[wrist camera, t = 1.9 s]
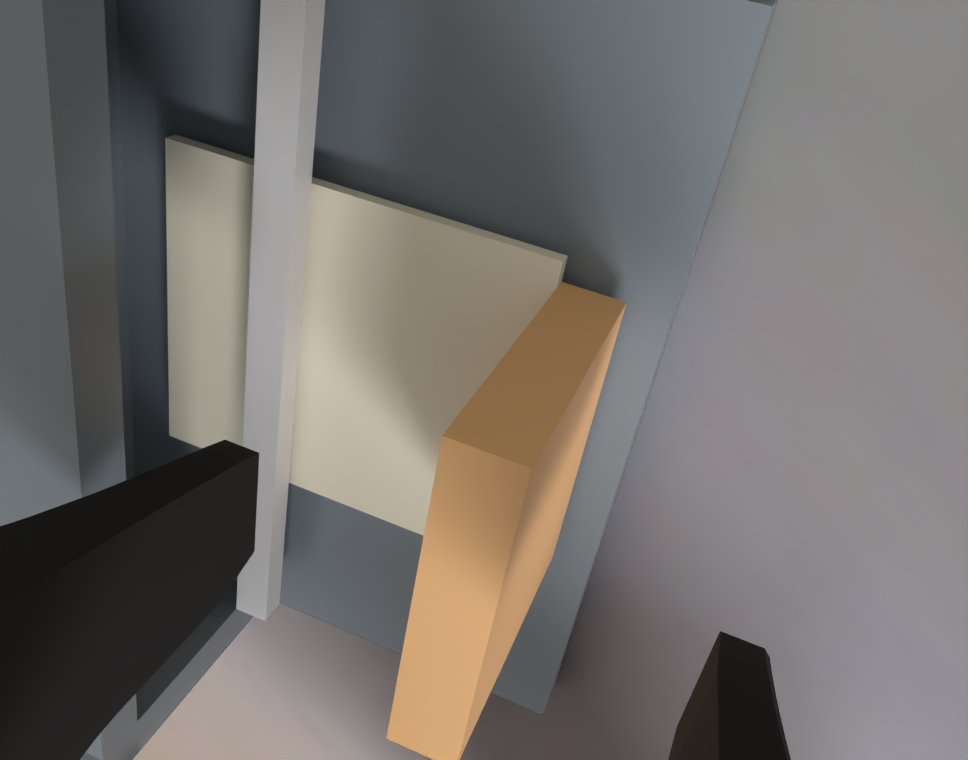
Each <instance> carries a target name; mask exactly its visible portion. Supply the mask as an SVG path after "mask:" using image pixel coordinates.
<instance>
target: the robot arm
mask: <svg viewBox="0 0 968 760" xmlns="http://www.w3.org/2000/svg"><path fill="white" fill-rule="evenodd" d="M258 469H259V453H258V452H256V451H253V450H251V449H248V448H246V447H243V446H240V445H238V444H235V443H233V442H230V441H227V440H223V441H220V442H218V443H215V444H212V445H210V446H207V447H205V448H202V449H200V450H197V451H195V452H193V453H190V454H188V455H186V456H183V457H181V458H178V459H176V460H174V461H171V462H169V463H167V464H164V465H162V466H159V467H157V468H155V469H152V470H150V471H148V472H145V473H143V474H140V475H138V476H135V477H133V478H130V479H128V480H126V481H123V482H121V483H118V484H116V485H113V486H111V487H108V488H106V489H104V490H101V491H99V492H96V493H93V494H91V495H88V496H85V497H83V498H80V499H77V500H74V501H72V502H69V503H66V504H63V505H60V506H58V507H55V508H52V509H49V510H47V511H44V512H41V513H38V514H36V515H33V516H30V517H27V518H24V519H21V520H18V521H15V522H12V523H9V524H6V525H3V526H0V760H80V759H81V758H82V756H83V755H84V754H85V752H86V751H87V750H88V748H89V747H90V746H91V744H92V743H93V742H94V740H95V739H96V738H97V737H98V736H99V734H100V733H101V732H102V731H103V730H104V728H105V727H106V726H107V725H108V724H109V723H110V721H111V720H112V719H113V718H114V717H115V716H116V714H117V713H118V712H119V711H120V710H121V709H122V708H123V707H124V706H125V705H126V704H127V702H128V701H129V700H130V699H131V698H132V697H133V696H134V695H135V694H136V693H137V692H138V691H139V689H140V688H141V687H142V686H143V685H144V684H145V683H146V682H147V681H148V680H149V679H150V678H151V676H152V675H153V674H154V673H155V672H156V671H157V670H158V669H159V668H160V667H161V666H162V665H163V664H164V662H165V661H166V660H167V659H168V658H169V657H170V656H171V655H172V654H173V653H174V652H175V651H176V649H177V648H178V647H179V646H180V645H181V644H182V643H183V642H184V641H185V640H186V639H187V637H188V636H189V635H190V634H191V633H192V632H193V631H194V630H195V629H196V628H197V626H198V625H199V624H200V623H201V622H202V621H203V620H204V619H205V618H206V617H207V615H208V614H209V613H210V612H211V611H212V610H213V609H214V608H215V606H216V605H217V604H218V603H219V601H220V600H221V599H222V597H223V596H224V594H225V593H226V592H227V590H228V589H229V588H230V586H231V585H232V584H233V582H234V581H235V579H236V578H237V576H238V575H239V573H240V572H241V570H242V569H243V568H244V566H245V565H246V563H247V562H248V560H249V559H250V557H251V556H252V554H253V553H254V550H255V530H256V510H257V489H258ZM669 760H791V759H790V755H789V751H788V747H787V743H786V739H785V735H784V730H783V726H782V722H781V717H780V713H779V708H778V704H777V699H776V694H775V688H774V683H773V677H772V671H771V664H770V658H769V656H768V654H767V652H766V650H765V648H762V647H759V646H757V645H754V644H752V643H749V642H747V641H744V640H741V639H739V638H736V637H734V636H731V635H728V634H726V633H723V632H721V631H720V633H719V635H718V637H717V640H716V642H715V644H714V646H713V648H712V651H711V653H710V655H709V657H708V659H707V662H706V664H705V666H704V668H703V670H702V673H701V675H700V677H699V679H698V682H697V684H696V686H695V688H694V690H693V693H692V695H691V697H690V699H689V701H688V704H687V706H686V708H685V710H684V712H683V715H682V717H681V719H680V721H679V724H678V726H677V729H676V733H675V737H674V740H673V744H672V748H671V752H670V756H669Z"/></svg>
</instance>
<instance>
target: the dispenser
mask: <svg viewBox="0 0 968 760" xmlns="http://www.w3.org/2000/svg"><path fill="white" fill-rule="evenodd" d="M776 3H777V0H0V526H3V525H6V524H9V523H12V522H15V521H18V520H21V519H24V518H27V517H30V516H33V515H36V514H38V513H41V512H44V511H47V510H49V509H52V508H55V507H58V506H60V505H63V504H66V503H69V502H72V501H74V500H77V499H80V498H83V497H85V496H88V495H91V494H93V493H96V492H99V491H101V490H104V489H106V488H108V487H111V486H113V485H116V484H118V483H121V482H123V481H126V480H128V479H130V478H133V477H135V476H138V475H140V474H143V473H145V472H148V471H150V470H152V469H155V468H157V467H159V466H162V465H164V464H167V463H169V462H171V461H174V460H176V459H178V458H181V457H183V456H186V455H188V454H190V453H193V452H195V451H197V450H200V449H202V448H200V447H197V446H195V445H192V444H190V443H187V442H184V441H182V440H179V439H177V438H174V437H172V436H169V378H168V304H167V229H166V154H165V138H166V137H169V136H172V135H179V136H182V137H185V138H188V139H192V140H195V141H198V142H201V143H205V144H208V145H211V146H214V147H217V148H221V149H224V150H227V151H230V152H234V153H237V154H240V155H243V156H247V157H250V158H253V159H254V181H253V206H252V231H251V256H250V281H249V305H248V330H247V355H246V380H245V405H244V429H243V447H246V448H248V449H251V450H253V451H256V452H258V453H259V469H258V489H257V510H256V530H255V550H254V553H253V554H252V556H251V557H250V559H249V560H248V562H247V563H246V565H245V566H244V568H243V569H242V570H241V572H240V573H239V575H238V576H237V578H236V579H235V581H234V582H233V584H232V585H231V586H230V588H229V589H228V590H227V592H226V593H225V594H224V596H223V597H222V599H221V600H220V601H219V603H218V604H217V605H216V606H215V608H214V609H213V610H212V611H211V612H210V613H209V614H208V615H207V617H206V618H205V619H204V620H203V621H202V622H201V623H200V624H199V625H198V626H197V628H196V629H195V630H194V631H193V632H192V633H191V634H190V635H189V636H188V637H187V639H186V640H185V641H184V642H183V643H182V644H181V645H180V646H179V647H178V648H177V649H176V651H175V652H174V653H173V654H172V655H171V656H170V657H169V658H168V659H167V660H166V661H165V662H164V664H163V665H162V666H161V667H160V668H159V669H158V670H157V671H156V672H155V673H154V674H153V675H152V676H151V678H150V679H149V680H148V681H147V682H146V683H145V684H144V685H143V686H142V687H141V688H140V689H139V691H138V692H137V693H136V694H135V695H134V696H133V697H132V698H131V699H130V700H129V701H128V702H127V704H126V705H125V706H124V707H123V708H122V709H121V710H120V711H119V712H118V713H117V714H116V716H115V717H114V718H113V719H112V720H111V721H110V723H109V724H108V725H107V726H106V727H105V728H104V730H103V731H102V732H101V733H100V734H99V736H98V737H97V738H96V739H95V740H94V742H93V743H92V744H91V746H90V747H89V748H88V750H87V751H86V752H85V754H84V755H83V756H82V758H81V759H80V760H132V759H133V758H134V757H135V756H136V755H137V754H138V752H139V751H140V750H141V749H142V748H143V746H144V745H145V744H146V743H147V742H148V741H149V739H150V738H151V737H152V736H153V735H154V733H155V732H156V731H157V730H158V729H159V727H160V726H161V725H162V724H163V723H164V722H165V720H166V719H167V718H168V717H169V716H170V714H171V713H172V712H173V711H174V710H175V709H176V707H177V706H178V705H179V704H180V703H181V701H182V700H183V699H184V698H185V697H186V695H187V694H188V693H189V692H190V691H191V690H192V688H193V687H194V686H195V685H196V684H197V682H198V681H199V680H200V679H201V678H202V677H203V675H204V674H205V673H206V672H207V671H208V669H209V668H210V667H211V666H212V665H213V663H214V662H215V661H216V660H217V659H218V658H219V656H220V655H221V654H222V653H223V652H224V650H225V649H226V648H227V647H228V646H229V645H230V643H231V642H232V641H233V640H234V639H235V637H236V636H237V635H238V634H239V633H240V631H241V630H242V629H243V628H244V627H245V626H246V624H247V623H248V622H249V621H250V620H251V618H252V617H253V616H254V617H256V618H258V619H261V620H263V621H265V622H266V621H267V620H268V618H269V617H270V616H271V615H272V613H273V612H274V611H275V610H276V609H277V607H278V606H279V604H280V603H282V604H284V605H286V606H289V607H291V608H293V609H296V610H298V611H300V612H303V613H305V614H307V615H310V616H312V617H314V618H317V619H319V620H322V621H324V622H326V623H329V624H331V625H333V626H336V627H338V628H340V629H343V630H345V631H347V632H350V633H352V634H354V635H357V636H359V637H361V638H364V639H366V640H368V641H371V642H373V643H375V644H378V645H380V646H382V647H385V648H387V649H389V650H392V651H394V652H396V653H399V654H401V655H402V650H403V645H404V640H405V634H406V629H407V623H408V618H409V613H410V607H411V602H412V596H413V591H414V586H415V580H416V575H417V569H418V564H419V559H420V553H421V548H422V542H423V537H424V536H423V535H420V534H418V533H415V532H413V531H410V530H408V529H405V528H403V527H400V526H398V525H395V524H392V523H390V522H387V521H385V520H382V519H380V518H377V517H375V516H372V515H370V514H367V513H365V512H362V511H360V510H357V509H354V508H352V507H349V506H347V505H344V504H342V503H339V502H337V501H334V500H332V499H329V498H327V497H324V496H321V495H319V494H316V493H314V492H311V491H309V490H306V489H304V488H301V487H299V486H296V485H294V484H291V483H289V472H290V459H291V446H292V433H293V420H294V406H295V393H296V380H297V367H298V354H299V341H300V327H301V314H302V301H303V288H304V275H305V262H306V248H307V235H308V222H309V209H310V196H311V183H312V177H315V178H318V179H321V180H324V181H327V182H331V183H334V184H337V185H340V186H344V187H347V188H350V189H353V190H357V191H360V192H363V193H366V194H370V195H373V196H376V197H379V198H382V199H386V200H389V201H392V202H395V203H399V204H402V205H405V206H408V207H412V208H415V209H418V210H421V211H425V212H428V213H431V214H434V215H437V216H441V217H444V218H447V219H450V220H454V221H457V222H460V223H463V224H467V225H470V226H473V227H476V228H479V229H483V230H486V231H489V232H492V233H496V234H499V235H502V236H505V237H509V238H512V239H515V240H518V241H522V242H525V243H528V244H531V245H534V246H538V247H541V248H544V249H547V250H551V251H554V252H557V253H560V254H564V255H567V256H568V257H567V261H566V265H565V269H564V274H563V278H562V282H564V283H567V284H570V285H574V286H577V287H580V288H583V289H586V290H589V291H593V292H596V293H599V294H602V295H605V296H608V297H612V298H615V299H618V300H621V301H624V302H627V303H626V307H625V310H624V314H623V317H622V320H621V324H620V327H619V331H618V334H617V338H616V341H615V344H614V348H613V351H612V355H611V358H610V362H609V365H608V369H607V372H606V375H605V379H604V382H603V386H602V389H601V393H600V396H599V399H598V403H597V406H596V410H595V413H594V417H593V420H592V424H591V427H590V430H589V434H588V437H587V441H586V444H585V448H584V451H583V454H582V458H581V461H580V465H579V468H578V472H577V475H576V479H575V482H574V485H573V489H572V492H571V496H570V499H569V503H568V506H567V510H566V513H565V516H564V520H563V523H562V527H561V530H560V534H559V537H558V540H557V544H556V547H555V551H554V554H553V557H552V559H551V562H550V564H549V566H548V568H547V570H546V573H545V575H544V577H543V579H542V581H541V583H540V586H539V588H538V590H537V592H536V594H535V597H534V599H533V601H532V603H531V605H530V607H529V610H528V612H527V614H526V616H525V618H524V621H523V623H522V625H521V627H520V629H519V631H518V634H517V636H516V638H515V640H514V642H513V645H512V647H511V649H510V651H509V653H508V655H507V658H506V660H505V662H504V664H503V666H502V669H501V671H500V673H499V675H498V677H497V679H496V682H495V684H494V686H493V688H492V690H491V693H492V694H494V695H497V696H499V697H501V698H504V699H506V700H508V701H511V702H513V703H515V704H518V705H520V706H522V707H525V708H527V709H529V710H532V711H534V712H536V713H539V714H541V715H543V714H544V711H545V709H546V706H547V703H548V701H549V698H550V696H551V693H552V690H553V688H554V685H555V682H556V679H557V676H558V673H559V670H560V667H561V664H562V661H563V657H564V654H565V651H566V648H567V645H568V642H569V639H570V636H571V633H572V630H573V627H574V624H575V621H576V617H577V614H578V611H579V608H580V605H581V602H582V599H583V596H584V593H585V590H586V587H587V584H588V581H589V578H590V574H591V571H592V568H593V565H594V562H595V559H596V556H597V553H598V550H599V547H600V544H601V541H602V538H603V535H604V531H605V528H606V525H607V522H608V519H609V516H610V513H611V510H612V507H613V504H614V501H615V498H616V495H617V492H618V488H619V485H620V482H621V479H622V476H623V473H624V470H625V467H626V464H627V461H628V458H629V455H630V452H631V449H632V445H633V442H634V439H635V436H636V433H637V430H638V427H639V424H640V421H641V418H642V415H643V412H644V409H645V406H646V402H647V399H648V396H649V393H650V390H651V387H652V384H653V381H654V378H655V375H656V372H657V369H658V366H659V363H660V359H661V356H662V353H663V350H664V347H665V344H666V341H667V338H668V335H669V332H670V329H671V326H672V323H673V319H674V316H675V313H676V310H677V307H678V304H679V301H680V298H681V295H682V292H683V289H684V286H685V283H686V280H687V276H688V273H689V270H690V267H691V264H692V261H693V258H694V255H695V252H696V249H697V246H698V243H699V240H700V237H701V233H702V230H703V227H704V224H705V221H706V218H707V215H708V212H709V209H710V206H711V203H712V200H713V197H714V194H715V190H716V187H717V184H718V181H719V178H720V175H721V172H722V169H723V166H724V163H725V160H726V157H727V154H728V151H729V147H730V144H731V141H732V138H733V135H734V132H735V129H736V126H737V123H738V120H739V117H740V114H741V111H742V108H743V104H744V101H745V98H746V95H747V92H748V89H749V86H750V83H751V80H752V77H753V74H754V71H755V68H756V65H757V61H758V58H759V55H760V52H761V49H762V46H763V43H764V40H765V37H766V34H767V31H768V28H769V25H770V22H771V18H772V15H773V12H774V9H775V6H776Z"/></svg>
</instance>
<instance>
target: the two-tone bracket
mask: <svg viewBox="0 0 968 760" xmlns="http://www.w3.org/2000/svg"><path fill="white" fill-rule="evenodd" d="M165 154H166V229H167V304H168V378H169V436H172V437H174V438H177V439H179V440H182V441H184V442H187V443H190V444H192V445H195V446H197V447H200V448H205V447H207V446H210V445H212V444H215V443H218V442H220V441H223V440H227V441H230V442H233V443H235V444H238V445H240V446H243V429H244V405H245V380H246V355H247V330H248V305H249V281H250V256H251V231H252V206H253V181H254V159H253V158H250V157H247V156H243V155H240V154H237V153H234V152H230V151H227V150H224V149H221V148H217V147H214V146H211V145H208V144H205V143H201V142H198V141H195V140H192V139H188V138H185V137H182V136H179V135H172V136H169V137H166V138H165ZM567 257H568V256H567V255H564V254H560V253H557V252H554V251H551V250H547V249H544V248H541V247H538V246H534V245H531V244H528V243H525V242H522V241H518V240H515V239H512V238H509V237H505V236H502V235H499V234H496V233H492V232H489V231H486V230H483V229H479V228H476V227H473V226H470V225H467V224H463V223H460V222H457V221H454V220H450V219H447V218H444V217H441V216H437V215H434V214H431V213H428V212H425V211H421V210H418V209H415V208H412V207H408V206H405V205H402V204H399V203H395V202H392V201H389V200H386V199H382V198H379V197H376V196H373V195H370V194H366V193H363V192H360V191H357V190H353V189H350V188H347V187H344V186H340V185H337V184H334V183H331V182H327V181H324V180H321V179H318V178H315V177H312V183H311V196H310V209H309V222H308V235H307V248H306V262H305V275H304V288H303V301H302V314H301V327H300V341H299V354H298V367H297V380H296V393H295V406H294V420H293V433H292V446H291V459H290V472H289V483H291V484H294V485H296V486H299V487H301V488H304V489H306V490H309V491H311V492H314V493H316V494H319V495H321V496H324V497H327V498H329V499H332V500H334V501H337V502H339V503H342V504H344V505H347V506H349V507H352V508H354V509H357V510H360V511H362V512H365V513H367V514H370V515H372V516H375V517H377V518H380V519H382V520H385V521H387V522H390V523H392V524H395V525H398V526H400V527H403V528H405V529H408V530H410V531H413V532H415V533H418V534H420V535H423V536H424V537H423V542H422V548H421V553H420V559H419V564H418V569H417V575H416V580H415V586H414V591H413V596H412V602H411V607H410V613H409V618H408V623H407V629H406V634H405V640H404V645H403V650H402V656H401V661H400V667H399V672H398V677H397V683H396V688H395V694H394V699H393V705H392V710H391V715H390V721H389V726H388V732H387V737H386V739H388V740H390V741H393V742H395V743H397V744H399V745H402V746H404V747H406V748H408V749H410V750H413V751H415V752H417V753H419V754H421V755H424V756H426V757H428V758H430V759H433V760H460V758H461V756H462V754H463V751H464V749H465V747H466V745H467V743H468V740H469V738H470V736H471V734H472V732H473V730H474V727H475V725H476V723H477V721H478V719H479V717H480V714H481V712H482V710H483V708H484V706H485V703H486V701H487V699H488V697H489V695H490V693H491V690H492V688H493V686H494V684H495V682H496V679H497V677H498V675H499V673H500V671H501V669H502V666H503V664H504V662H505V660H506V658H507V655H508V653H509V651H510V649H511V647H512V645H513V642H514V640H515V638H516V636H517V634H518V631H519V629H520V627H521V625H522V623H523V621H524V618H525V616H526V614H527V612H528V610H529V607H530V605H531V603H532V601H533V599H534V597H535V594H536V592H537V590H538V588H539V586H540V583H541V581H542V579H543V577H544V575H545V573H546V570H547V568H548V566H549V564H550V562H551V559H552V557H553V554H554V551H555V547H556V544H557V540H558V537H559V534H560V530H561V527H562V523H563V520H564V516H565V513H566V510H567V506H568V503H569V499H570V496H571V492H572V489H573V485H574V482H575V479H576V475H577V472H578V468H579V465H580V461H581V458H582V454H583V451H584V448H585V444H586V441H587V437H588V434H589V430H590V427H591V424H592V420H593V417H594V413H595V410H596V406H597V403H598V399H599V396H600V393H601V389H602V386H603V382H604V379H605V375H606V372H607V369H608V365H609V362H610V358H611V355H612V351H613V348H614V344H615V341H616V338H617V334H618V331H619V327H620V324H621V320H622V317H623V314H624V310H625V307H626V303H627V302H624V301H621V300H618V299H615V298H612V297H608V296H605V295H602V294H599V293H596V292H593V291H589V290H586V289H583V288H580V287H577V286H574V285H570V284H567V283H564V282H562V278H563V274H564V269H565V265H566V261H567Z"/></svg>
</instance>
